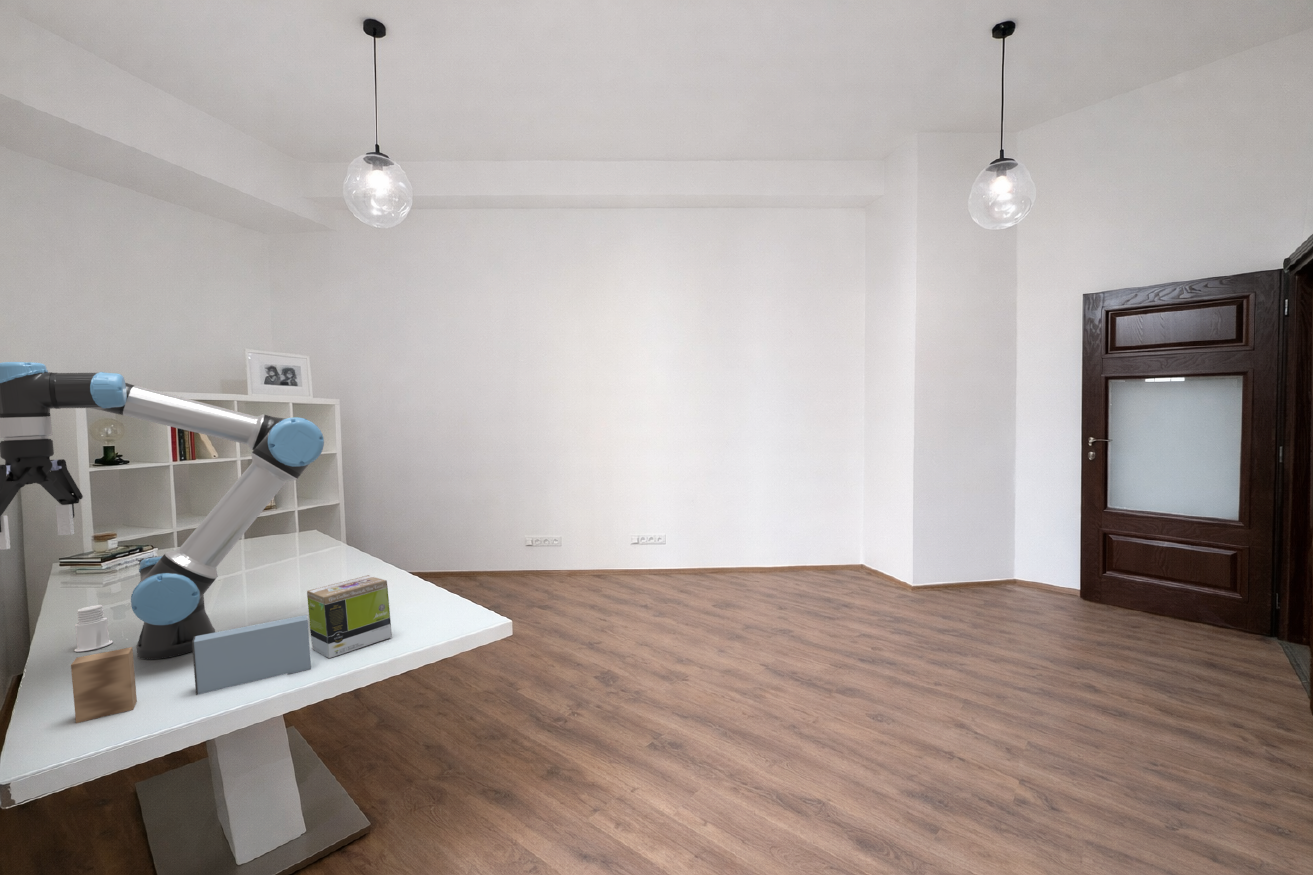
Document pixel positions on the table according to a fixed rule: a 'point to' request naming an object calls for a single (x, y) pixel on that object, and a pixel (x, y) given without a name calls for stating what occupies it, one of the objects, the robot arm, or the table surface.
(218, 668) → the blue-gray rectangular block
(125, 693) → the stub
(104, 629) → the downlight
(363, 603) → the tea box
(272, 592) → the table surface
